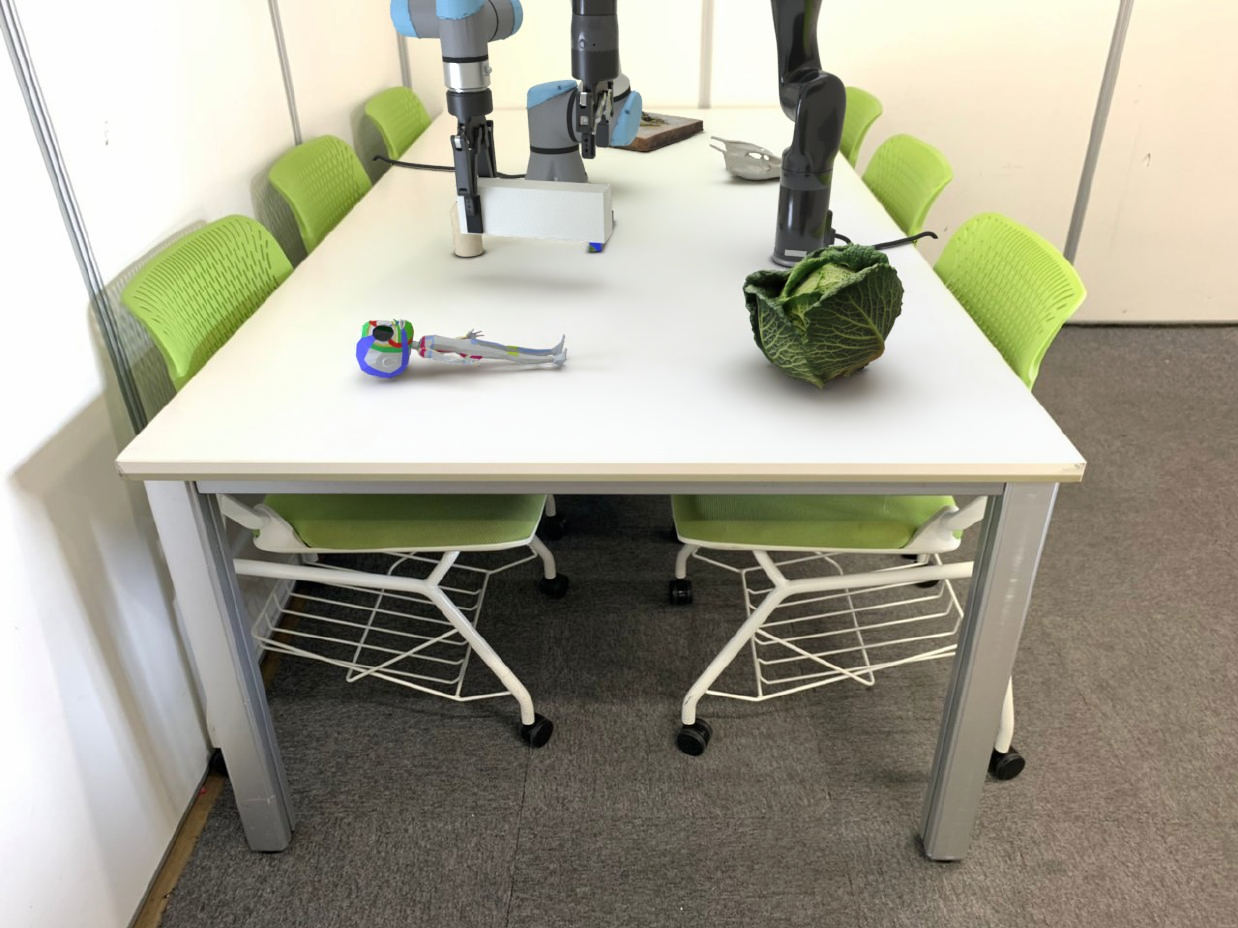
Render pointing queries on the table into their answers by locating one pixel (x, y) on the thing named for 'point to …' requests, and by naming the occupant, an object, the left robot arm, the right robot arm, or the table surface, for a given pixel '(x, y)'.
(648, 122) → the plaque
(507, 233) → the bar
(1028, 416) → the table surface
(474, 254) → the candle
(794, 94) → the right robot arm
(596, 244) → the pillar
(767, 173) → the anatomical model
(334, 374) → the table surface
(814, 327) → the vegetable
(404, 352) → the toy
